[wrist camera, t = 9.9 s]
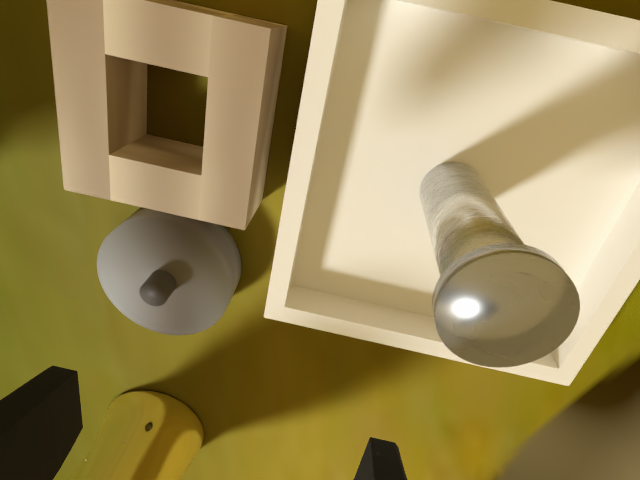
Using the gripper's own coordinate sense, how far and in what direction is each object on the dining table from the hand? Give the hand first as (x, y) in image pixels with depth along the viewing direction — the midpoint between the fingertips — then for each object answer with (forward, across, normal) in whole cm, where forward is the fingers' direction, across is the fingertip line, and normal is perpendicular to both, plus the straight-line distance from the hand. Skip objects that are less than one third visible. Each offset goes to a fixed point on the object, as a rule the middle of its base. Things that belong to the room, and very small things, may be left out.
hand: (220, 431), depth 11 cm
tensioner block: (+10, +5, -2) cm, 12 cm away
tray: (+10, -6, -4) cm, 13 cm away
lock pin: (+10, -6, -4) cm, 12 cm away
